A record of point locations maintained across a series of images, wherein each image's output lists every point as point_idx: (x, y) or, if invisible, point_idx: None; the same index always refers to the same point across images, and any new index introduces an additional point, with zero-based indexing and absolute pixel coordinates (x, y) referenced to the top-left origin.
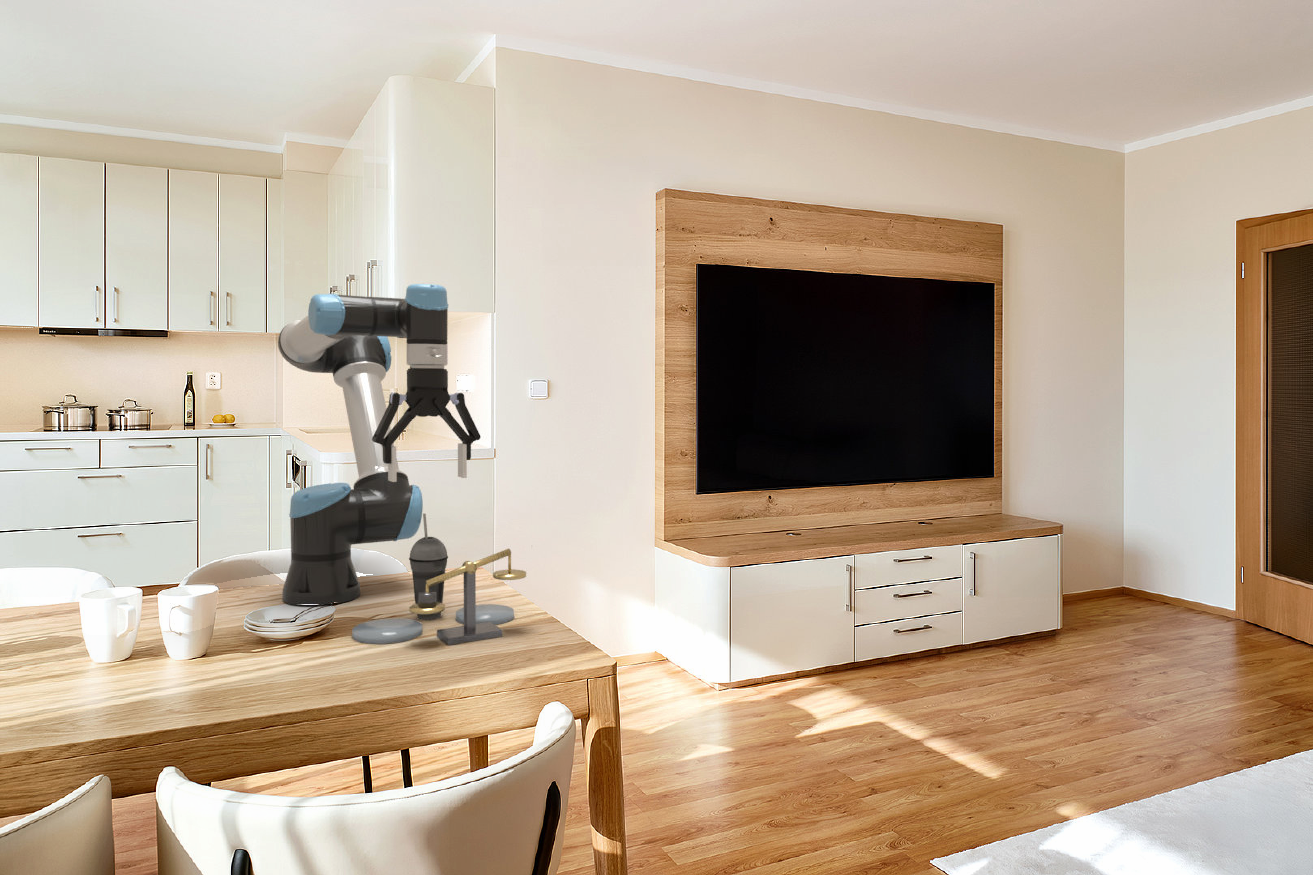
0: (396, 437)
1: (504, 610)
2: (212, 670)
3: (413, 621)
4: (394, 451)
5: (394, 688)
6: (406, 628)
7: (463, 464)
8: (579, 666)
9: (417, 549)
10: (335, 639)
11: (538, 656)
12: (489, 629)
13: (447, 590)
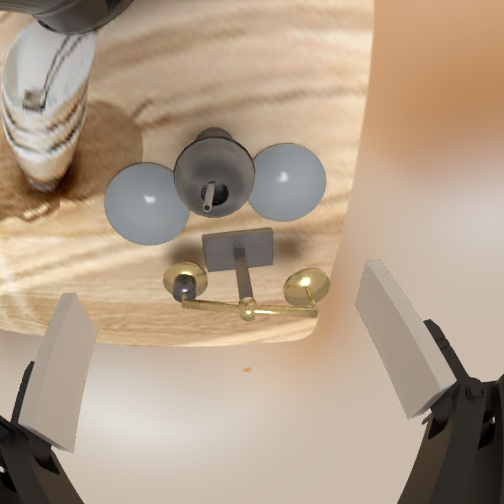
0: (71, 489)
1: (312, 191)
2: (15, 257)
3: None
4: (69, 432)
5: (150, 336)
6: (167, 220)
7: (378, 343)
8: (289, 338)
9: (185, 205)
10: (89, 204)
11: (274, 316)
12: (260, 259)
13: (291, 4)
